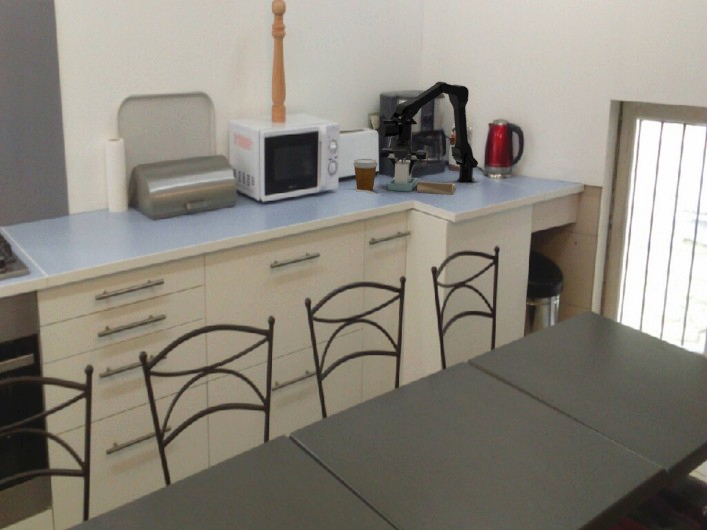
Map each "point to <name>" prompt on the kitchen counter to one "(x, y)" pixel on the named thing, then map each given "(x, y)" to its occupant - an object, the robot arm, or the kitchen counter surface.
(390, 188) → the tray
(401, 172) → the white handled drawer
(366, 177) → the disposable coffee cup
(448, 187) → the bay
